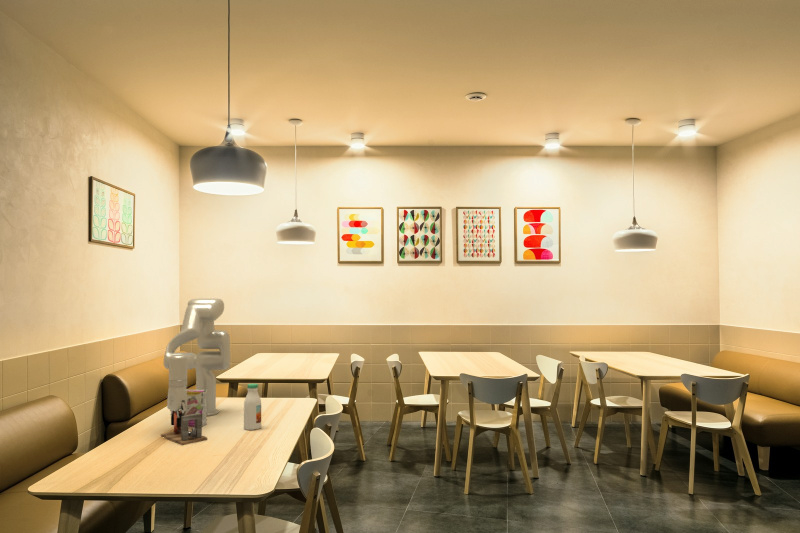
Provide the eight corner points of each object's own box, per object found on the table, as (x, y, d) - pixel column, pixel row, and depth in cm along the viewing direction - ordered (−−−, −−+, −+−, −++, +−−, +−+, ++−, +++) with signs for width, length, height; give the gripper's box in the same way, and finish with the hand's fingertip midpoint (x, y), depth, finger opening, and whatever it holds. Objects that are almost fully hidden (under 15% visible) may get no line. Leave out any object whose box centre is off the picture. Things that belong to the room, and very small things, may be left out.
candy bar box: (179, 426, 257) (179, 390, 258) (184, 424, 262) (184, 389, 263) (202, 427, 256) (202, 391, 257) (207, 424, 261) (207, 389, 262)
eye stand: (160, 436, 240) (161, 411, 240) (185, 431, 248) (185, 407, 248) (181, 445, 226) (182, 418, 227) (207, 439, 234) (207, 413, 235)
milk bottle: (250, 431, 248) (251, 386, 249) (240, 428, 253) (240, 384, 253) (264, 427, 254) (265, 383, 255) (254, 425, 259) (254, 382, 260)
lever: (172, 432, 241) (172, 411, 242) (179, 431, 243) (179, 410, 244) (191, 439, 229) (191, 417, 230) (198, 438, 231) (198, 416, 232)
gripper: (161, 382, 245) (160, 424, 245) (178, 386, 234) (177, 430, 233) (177, 380, 251) (177, 421, 250) (195, 384, 239) (194, 427, 238)
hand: (177, 425), depth 241 cm, fingers open, 4 cm apart
